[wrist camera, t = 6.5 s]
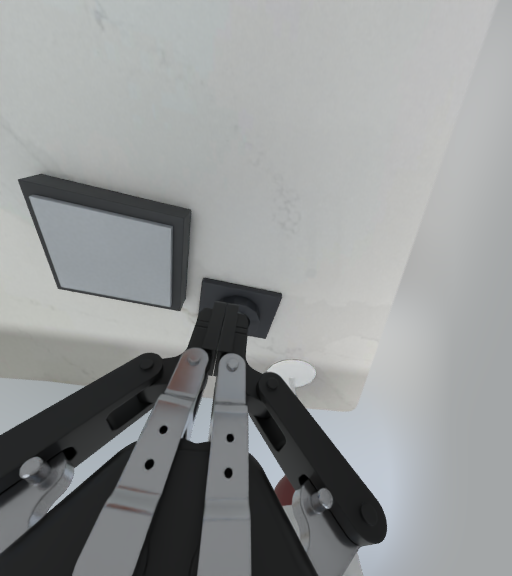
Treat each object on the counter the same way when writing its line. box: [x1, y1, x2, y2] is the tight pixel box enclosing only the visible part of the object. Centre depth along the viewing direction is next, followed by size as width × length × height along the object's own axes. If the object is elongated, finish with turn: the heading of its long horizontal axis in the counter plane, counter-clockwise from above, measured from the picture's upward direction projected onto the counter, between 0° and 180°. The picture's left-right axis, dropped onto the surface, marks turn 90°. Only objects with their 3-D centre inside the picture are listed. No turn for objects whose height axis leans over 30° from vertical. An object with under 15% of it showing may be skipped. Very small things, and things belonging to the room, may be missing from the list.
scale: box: [18, 174, 191, 311], centre depth 24 cm, size 14×12×3 cm
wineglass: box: [267, 360, 363, 576], centre depth 30 cm, size 9×10×23 cm
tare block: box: [198, 278, 282, 339], centre depth 29 cm, size 10×8×2 cm
